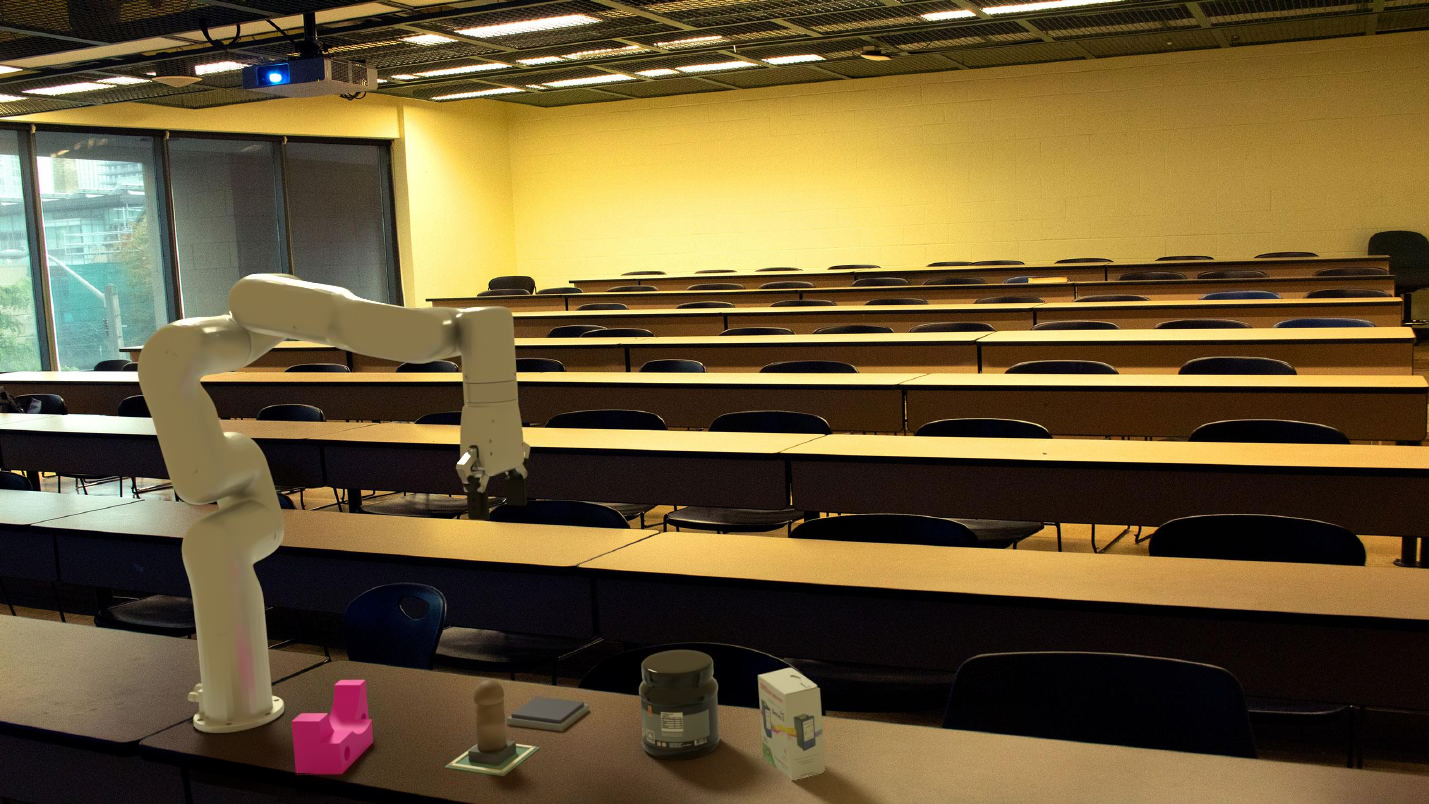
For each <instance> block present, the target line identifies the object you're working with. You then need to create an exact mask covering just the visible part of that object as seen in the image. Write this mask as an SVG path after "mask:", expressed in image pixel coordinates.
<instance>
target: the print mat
mask: <svg viewBox="0 0 1429 804" xmlns="http://www.w3.org/2000/svg"><path fill="white" fill-rule="evenodd" d="M476 745H477V743H475V745H473V746H472V747H471V748H473V747H474V746H476ZM471 748H469V749H468V750H466V751H465V752H464V753H461V755H459V756H458V757H456V758H455V759H453V760H452V761H450V762H449V763H448V764H446V765H445V766H444V768H445V769H449V770H450V769H451V770H458V771H464V772H472V773H479V774H486V775H493V776H500V777H504V776H506V775H507V774H508V773H510V772H511V771H512V770H514V769H515V768H516V767H518V766H519V765H520V764H522V763H523V762H524V761H525V760H527V759H528V758H529V757H530V756H532V755H533V754H534V753H536V752H537V751H539V750H540V749H541V747H540V746H534V745H526V744H520V743H516V753H514V754H513V755H512V756H510V757H509V758H508V759H507V760H505V761H504V762H503V763H501V764H500V765H499V766H494V765H488V764H481V763H474V762H469V756H468V751H469V750H470V749H471Z"/></svg>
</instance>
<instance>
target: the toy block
mask: <svg viewBox="0 0 1429 804" xmlns="http://www.w3.org/2000/svg"><path fill="white" fill-rule="evenodd" d="M366 681H367V680H366V679H340V680H339V681H337V682H336V683H335V684H334V686H333V687H334V692H333V693H334V694H333V701H332V702H333V703H332V707H331V711H330V714H329V713H328V712H327V713H326V712H325V713H324V712H314V713H313V712H311V713H310V712H308V713H307V712H303V713H302V712H300V714H298V715H297V716H296V717H295V718H294V719H292V721H291V730H292V740H293V753H294V765H295V774H296V773H297V774H296V775H299V774H298V773H311V774H310V775H343V773H345V772H346V771H347V770H348V769H349V767H351V765H353V763H355V761H356V760H358V758H359V757H360V756H361V755H362V754H363V753H364V752H365V751H366V750H367V749H368V748H369V747H370V746H371V745H372V744H373V743H374V735H373V724H372V723H373V721H372V719H371V718H369V707H368V704H369V703H368V693H367V682H366ZM312 773H313V774H312Z"/></svg>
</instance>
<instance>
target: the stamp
mask: <svg viewBox="0 0 1429 804" xmlns="http://www.w3.org/2000/svg"><path fill="white" fill-rule="evenodd" d="M472 695H473V696H472V697H473V701H474V702H473V703H474V714H475V715H474V716H475V729H476V732H475V733H476V744H477V745H476V744H475V745H476V746H475V745H473V746H474V747H473V746H472V747H473V748H472V747H471V748H469V749H470V750H469V749H468V750H469V751H468V750H467V751H468V756H469V762H474V763H481V764H488V765H494V766H499V765H500V764H501V763H503V762H504V761H505V760H507V759H508V758H509V757H510V756H512V755H513V754H514V753H516V744H517V741H516V740H509V739H507V731H506V715H505V701H504V699H505V691H504V688H503V686H502V685H501V684H500V683H499V682H498V681H496V680H492V679H486V680H482V681H481V682H480V683H478V684H477V685H476V686H475V688H474V691H473V694H472Z"/></svg>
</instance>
